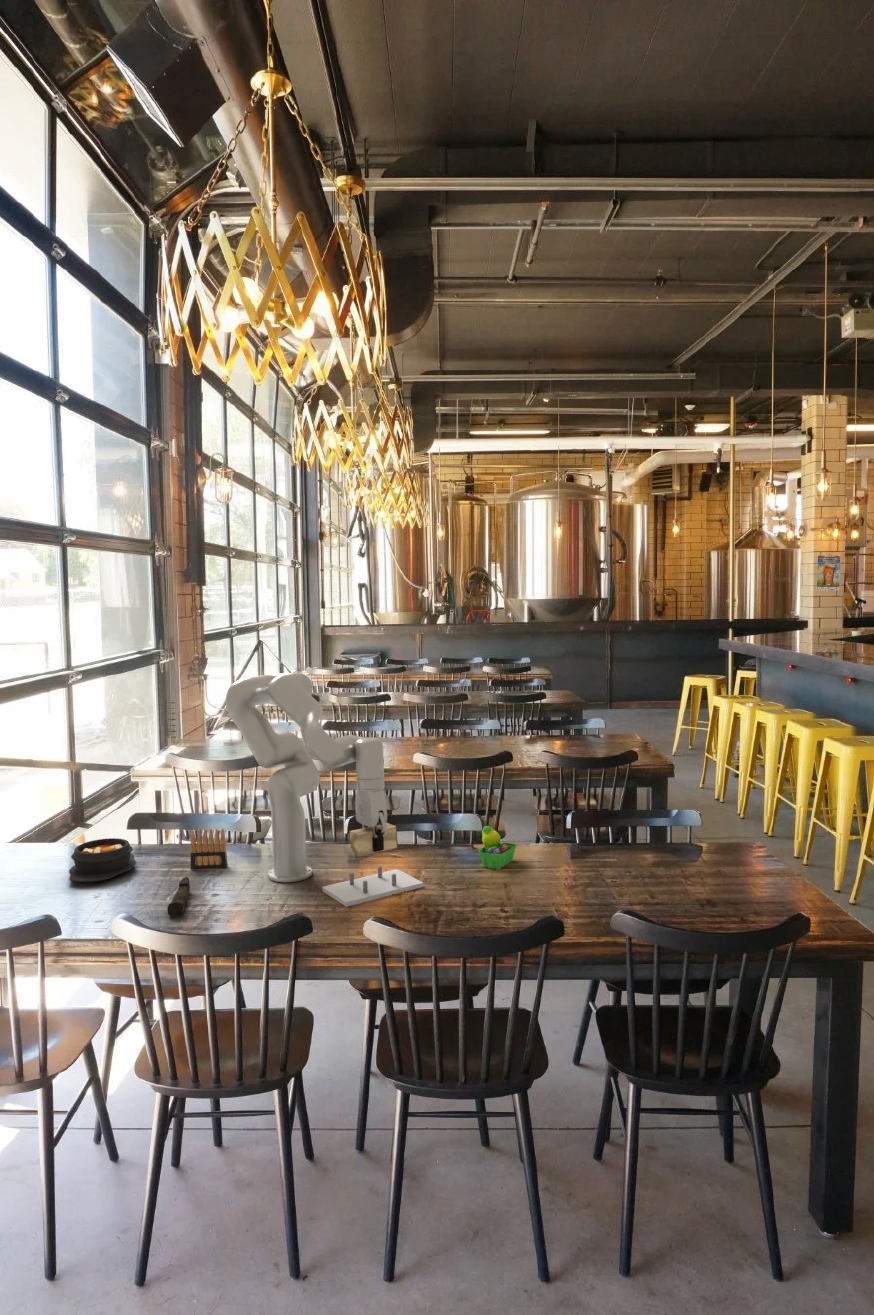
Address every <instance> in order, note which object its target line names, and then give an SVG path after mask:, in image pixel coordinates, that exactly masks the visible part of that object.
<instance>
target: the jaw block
mask: <svg viewBox="0 0 874 1315" xmlns="http://www.w3.org/2000/svg"><path fill="white" fill-rule="evenodd" d="M386 824H387V827H388V828H387V830H386V831H385V833H384V836H383V839H384V850H382V851H378V852H373V844H372V837H374V836H373V829H372V828H370V827H367V828H362V827H361V828H359V829H354V830H353V829H352V830H349V843H350V844H349V845H350V854H352V855H354V856H356V857H358V858H359V857H364V856H368V855H373V854H376V853H380V852H384V851H388V850H389V851H390V850H393V849H397V848H398V843H397V826H396V825H394V824H391V823H389V822H387V823H386ZM378 829H380V828H379V827H378V828H376V831H377V830H378Z"/></svg>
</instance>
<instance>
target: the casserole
mask: <svg viewBox="0 0 874 1315" xmlns="http://www.w3.org/2000/svg"><path fill="white" fill-rule="evenodd" d="M133 849H134V848H133V847H132V846H131V845H130V842H129V840H126V839H124V838H123V839H122V838H118V837H117V838H114V837H113V838H110V837H109V838H99V839H95V840H90V841H86V842H83V843H81V844H78V845H77V846H76V847H75V848H74V850H73V853H72V854H71V856H70V858H71V859H72V860H73V863H74V865H73V866H71V867H70V868H69V870H68V873H69V881H72V882H76V883H77V882H79V883H93V882H102V881H107V880H109V879H112V878H113V877H115V876H117V875H120V874H123V873H125V872H128V871H129V870H131V869H133V868H134V867H135V866H136V865H137V861H136V859H135V855H134V854H133V853H132V851H133Z"/></svg>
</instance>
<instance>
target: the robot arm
mask: <svg viewBox="0 0 874 1315" xmlns="http://www.w3.org/2000/svg"><path fill="white" fill-rule="evenodd" d="M313 686H314V685H313V683H312V680H311V679H310V677H308V676H307V674H305V673H302V672H291V673H288V672H287V673H271V674H269V673H268V674H264V675H263V674H262V675H257V676H255V675H254V676H249V677H243V678H241V679H238V680H236V681H235V682H232V684H231V685H230V686H229V688H228V689H227V691H226V692H227V693H226V695H225V706H226V710H227V713H228V715H229V716H230V718H231V720H232V721H233V723H234V725H235V726H236V727H237V729H238V730H239V731H240V734H241V735H242V737H243V739H244V742H245V743H246V745H247V746H248V748H249V750H250V752H251V753H252V755H253V757H254V759H255V761H256V762H257V763H258V765H259V766H260V767H261V768H263V769H273V768H277V767H281V766H283V768H280V769H277V770H275V771H274V772H273V773H272V774H271V775H270V776H269V778H268V780H267V783H266V789H267V790H266V791H267V796H268V800H269V804H270V805H269V806H270V815H271V817H270V818H271V836H272V837H271V838H272V842H271V843H272V862H273V865H272V869H270V870H269V871H268V873H267V877H268V879H269V880H270V881H272V882H277V883H294V882H300V881H303V880H306V879H308V878H310V877H311V876H312V875H313V870H312V867H310V866H308V865H307V864H308V863H307V843H306V842H307V840H306V835H307V834H306V814H305V810H304V807H303V804H302V802H301V799H300V798H302V797H304V796H306V795H309V794H312V793H313V792H314V791H316V790H317V789H318V787H319V785H320V781H321V775H320V772H319V770H318V768H317V765H316V763H315V762H314V760H313V758H312V757H311V755H310V754H312V755H313V756H314V757H315V758H316V759H318V761H320V762H321V763H322V764H324V765H325V766H326V767H329V768H334V769H335V768H336V769H337V768H340V767H343V766H345V765H348V764H351V763H354V762H355V770H356V786H357V787H356V791H355V792H356V794H355V820H356V822H358V823H359V824H360V825H361V829H362V828H367V827H370V828H372V829H373V836H374V837H372V844H373V852H377V853H379V852H378V851H381V852H383V851H382V850H384V839H383V836H384V833H385V831H386V830H387V828H388V827H387V824H386V823H388V810H387V809H388V808H387V799H386V793H385V792H386V791H385V788H386V786H385V783H386V782H385V767H384V764H385V763H384V761H385V760H384V744H383V741H382V739H381V738H378V737H372V736H371V737H363V736H358V735H354V734H349V735H348V734H347V735H344V736H342V737H336V738H335V739H334V738H332V736H330V735H329V734H328V733H327V732H326V731H325V730H324V728H322V725H321V724H320V722H319V720H320V718H321V717H322V715H323V711H324V710H323V705H322V704H321V703H319V701H317V700H316V699H315V698H314V697H313V696H312V694H313V691H314V690H313V688H314V687H313ZM270 703H275V704H276V705H277V706H278V707H279V708H280V709H281V710H282V711H283V712H284V713H285V714H286V715H287V716H288V717H289V718H290V719H291V720H292V721H294V723H295V724H297V726H298V727H299V729H300V734H301V738H302V740H303V741H302V740H301V738H300V737H298V736H297V734H295V733H294V732H291V731H287V730H286V731H280V732H276V731H275V729H274V728H273V727H272V725H271V723H270V721H269V719H268V718H267V717H266V716H265V714H263V713H262V712H261V711H259V710H258V709H257V708H256V706H259V705H260V706H261V705H264V704H265V705H266V704H270ZM303 742H304V743H303ZM307 749H308V750H309V751H308V750H307ZM309 752H310V753H309ZM378 827H379V828H380V829H378V830H377V831H376V828H378Z"/></svg>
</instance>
